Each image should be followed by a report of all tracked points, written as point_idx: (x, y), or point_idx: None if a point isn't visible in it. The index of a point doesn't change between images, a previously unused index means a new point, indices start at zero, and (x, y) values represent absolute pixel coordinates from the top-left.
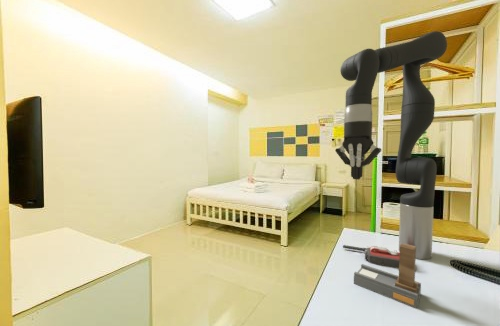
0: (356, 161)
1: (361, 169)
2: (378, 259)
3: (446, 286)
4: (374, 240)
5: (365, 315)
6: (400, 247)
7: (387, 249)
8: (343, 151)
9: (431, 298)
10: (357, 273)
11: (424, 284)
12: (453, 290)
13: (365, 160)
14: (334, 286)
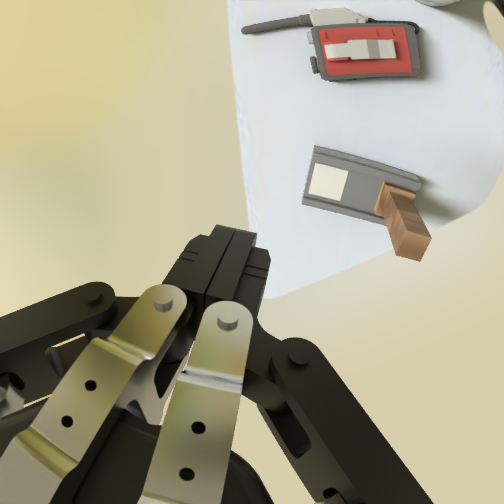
0: (167, 345)
1: (251, 306)
2: (347, 79)
3: (464, 125)
4: None
5: (325, 268)
6: (397, 253)
7: (370, 42)
8: (19, 407)
9: (428, 181)
10: (308, 203)
11: (430, 134)
12: (470, 136)
13: (276, 424)
14: (272, 222)
